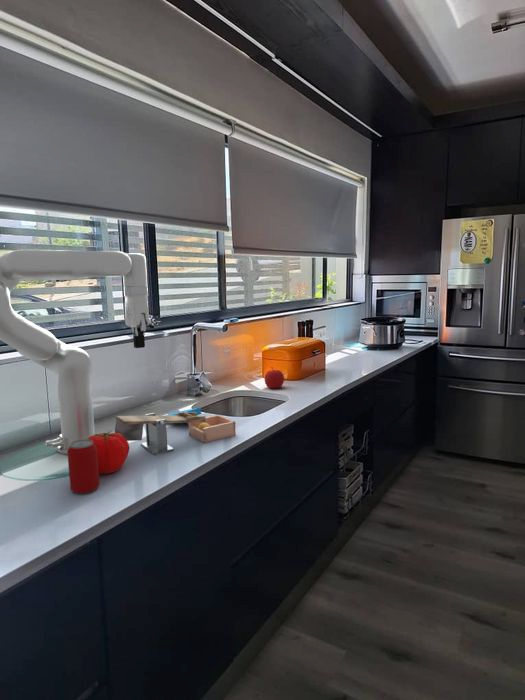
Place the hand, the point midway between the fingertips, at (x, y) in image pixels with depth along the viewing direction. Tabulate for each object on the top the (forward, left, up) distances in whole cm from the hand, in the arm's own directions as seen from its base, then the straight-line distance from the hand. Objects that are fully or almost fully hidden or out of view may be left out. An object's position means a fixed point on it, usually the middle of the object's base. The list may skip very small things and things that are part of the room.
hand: (139, 347), depth 157 cm
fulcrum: (-3, -17, -29) cm, 34 cm away
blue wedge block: (+15, -1, -30) cm, 33 cm away
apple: (+73, +23, -29) cm, 82 cm away
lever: (-2, -17, -26) cm, 31 cm away
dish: (+16, -18, -29) cm, 38 cm away
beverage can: (-29, -34, -29) cm, 53 cm away
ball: (+14, -17, -26) cm, 35 cm away
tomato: (-21, -25, -29) cm, 44 cm away
